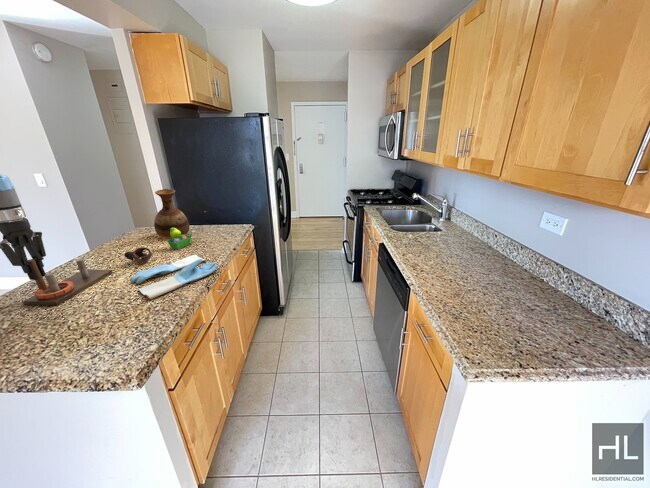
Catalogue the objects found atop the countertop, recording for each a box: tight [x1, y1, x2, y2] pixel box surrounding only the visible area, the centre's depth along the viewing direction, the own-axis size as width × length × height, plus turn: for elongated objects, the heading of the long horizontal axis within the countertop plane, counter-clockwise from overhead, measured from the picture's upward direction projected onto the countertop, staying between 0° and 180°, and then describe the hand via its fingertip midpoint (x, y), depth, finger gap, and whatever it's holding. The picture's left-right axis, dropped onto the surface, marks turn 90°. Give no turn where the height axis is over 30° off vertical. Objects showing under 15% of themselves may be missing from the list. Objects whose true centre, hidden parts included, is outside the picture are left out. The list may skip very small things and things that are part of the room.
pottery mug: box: [123, 246, 154, 266], centre depth 132 cm, size 12×10×8 cm
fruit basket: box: [166, 228, 192, 250], centre depth 150 cm, size 11×9×11 cm
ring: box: [27, 258, 74, 299], centre depth 101 cm, size 11×11×14 cm
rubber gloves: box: [129, 254, 219, 300], centre depth 119 cm, size 27×33×6 cm
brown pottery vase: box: [153, 188, 190, 238], centre depth 165 cm, size 20×20×30 cm
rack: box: [22, 258, 113, 306], centre depth 108 cm, size 13×26×10 cm, turn 178°
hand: (38, 277), depth 101 cm, fingers closed on ring, 2 cm apart
